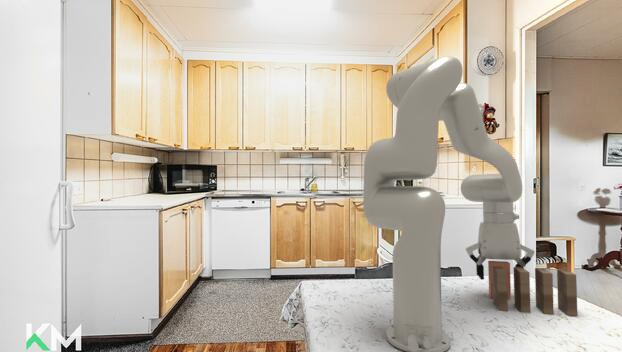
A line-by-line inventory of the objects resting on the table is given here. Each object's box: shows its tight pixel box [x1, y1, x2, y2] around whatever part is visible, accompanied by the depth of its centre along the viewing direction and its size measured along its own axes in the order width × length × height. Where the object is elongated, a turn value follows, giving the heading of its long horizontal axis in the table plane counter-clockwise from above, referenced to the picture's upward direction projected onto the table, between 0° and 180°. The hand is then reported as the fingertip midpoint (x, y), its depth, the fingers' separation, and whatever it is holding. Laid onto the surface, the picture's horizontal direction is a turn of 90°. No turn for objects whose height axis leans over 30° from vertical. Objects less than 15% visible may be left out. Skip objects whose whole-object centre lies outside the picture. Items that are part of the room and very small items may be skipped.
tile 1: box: [556, 268, 578, 317], centre depth 83 cm, size 5×2×10 cm, turn 166°
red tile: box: [487, 260, 512, 301], centre depth 94 cm, size 5×2×10 cm, turn 76°
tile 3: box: [513, 266, 531, 314], centre depth 85 cm, size 5×2×10 cm, turn 166°
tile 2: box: [534, 267, 554, 316], centre depth 84 cm, size 5×2×10 cm, turn 166°
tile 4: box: [492, 266, 509, 312], centre depth 87 cm, size 5×2×10 cm, turn 166°
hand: (499, 279), depth 94 cm, fingers open, 9 cm apart
